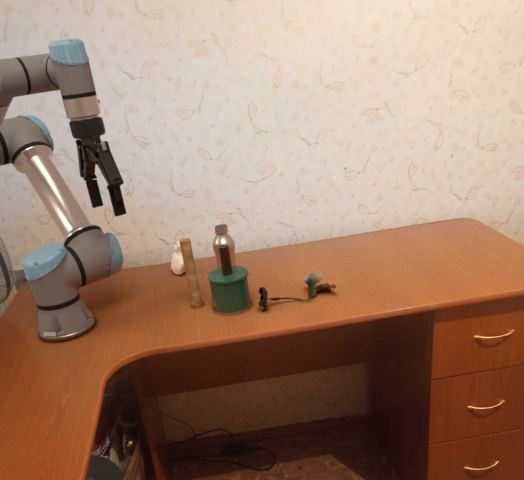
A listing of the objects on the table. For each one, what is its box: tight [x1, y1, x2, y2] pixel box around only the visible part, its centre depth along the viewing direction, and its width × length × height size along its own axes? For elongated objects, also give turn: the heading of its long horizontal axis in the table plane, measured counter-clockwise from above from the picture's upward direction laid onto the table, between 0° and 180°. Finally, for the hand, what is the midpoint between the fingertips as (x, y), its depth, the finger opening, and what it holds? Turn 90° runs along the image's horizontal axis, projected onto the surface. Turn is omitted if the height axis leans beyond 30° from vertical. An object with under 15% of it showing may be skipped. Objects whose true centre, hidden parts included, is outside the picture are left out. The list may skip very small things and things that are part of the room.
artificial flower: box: [258, 269, 338, 311], centre depth 150 cm, size 9×22×10 cm, turn 105°
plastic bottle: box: [212, 223, 237, 269], centre depth 158 cm, size 6×7×20 cm
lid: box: [206, 244, 249, 284], centre depth 146 cm, size 11×11×9 cm
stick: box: [178, 237, 203, 307], centre depth 151 cm, size 3×3×20 cm
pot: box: [209, 276, 251, 314], centre depth 150 cm, size 10×10×10 cm
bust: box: [170, 240, 186, 276], centre depth 179 cm, size 12×8×11 cm
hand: (108, 210), depth 131 cm, fingers open, 13 cm apart
